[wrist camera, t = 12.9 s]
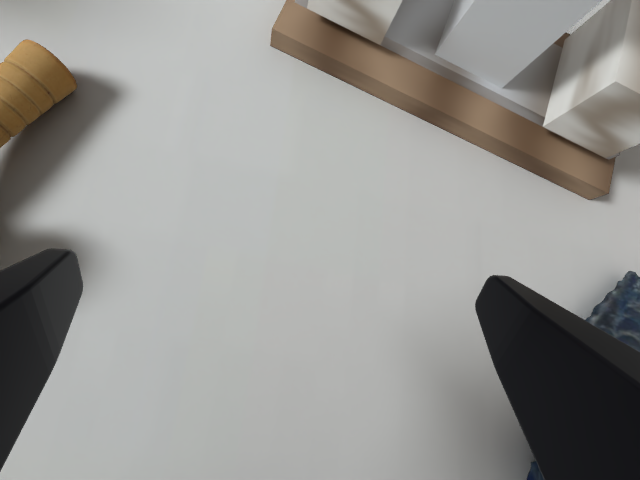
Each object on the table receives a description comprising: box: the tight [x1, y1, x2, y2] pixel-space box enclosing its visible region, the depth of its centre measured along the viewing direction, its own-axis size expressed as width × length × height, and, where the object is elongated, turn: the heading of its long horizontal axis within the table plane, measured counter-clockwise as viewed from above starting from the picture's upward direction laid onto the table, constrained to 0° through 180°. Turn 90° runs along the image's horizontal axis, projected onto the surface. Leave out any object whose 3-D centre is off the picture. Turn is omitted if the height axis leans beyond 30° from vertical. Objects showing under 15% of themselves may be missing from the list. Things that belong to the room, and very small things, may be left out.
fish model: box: [527, 271, 640, 480], centre depth 21 cm, size 7×21×5 cm, turn 147°
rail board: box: [270, 0, 640, 200], centre depth 23 cm, size 25×11×7 cm, turn 68°
